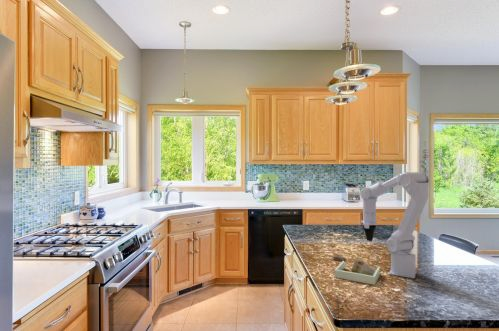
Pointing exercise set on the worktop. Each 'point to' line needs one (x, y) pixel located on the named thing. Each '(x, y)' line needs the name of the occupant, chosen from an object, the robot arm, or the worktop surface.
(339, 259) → the walnut tile
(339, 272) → the beige u-shaped block
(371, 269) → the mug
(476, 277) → the worktop surface
